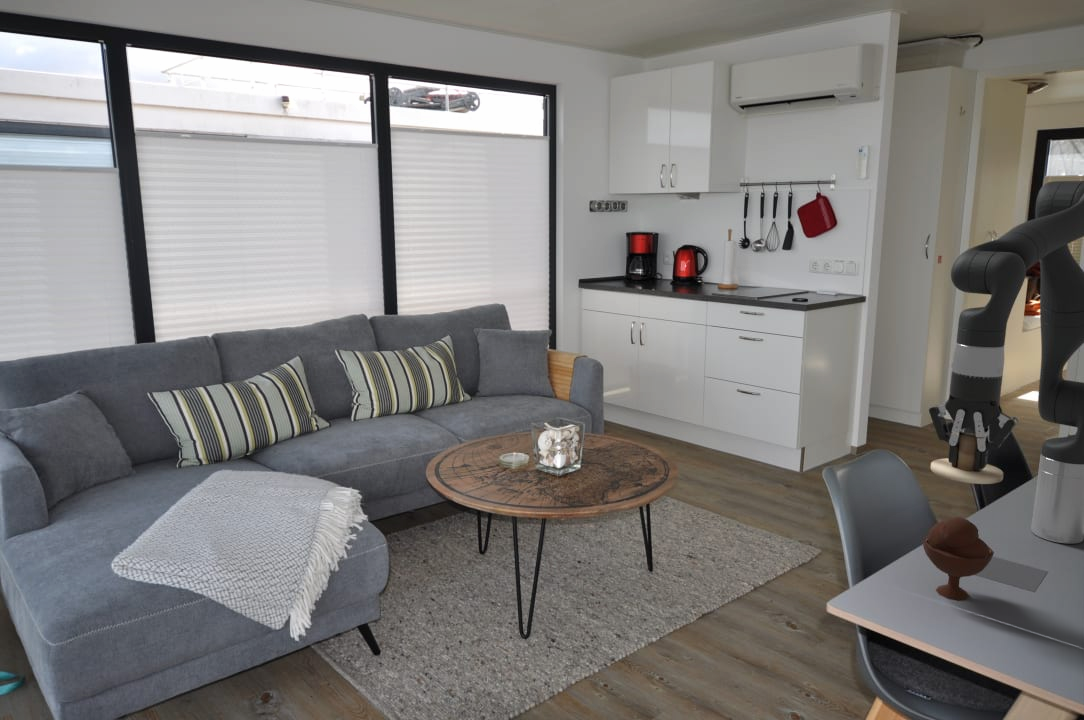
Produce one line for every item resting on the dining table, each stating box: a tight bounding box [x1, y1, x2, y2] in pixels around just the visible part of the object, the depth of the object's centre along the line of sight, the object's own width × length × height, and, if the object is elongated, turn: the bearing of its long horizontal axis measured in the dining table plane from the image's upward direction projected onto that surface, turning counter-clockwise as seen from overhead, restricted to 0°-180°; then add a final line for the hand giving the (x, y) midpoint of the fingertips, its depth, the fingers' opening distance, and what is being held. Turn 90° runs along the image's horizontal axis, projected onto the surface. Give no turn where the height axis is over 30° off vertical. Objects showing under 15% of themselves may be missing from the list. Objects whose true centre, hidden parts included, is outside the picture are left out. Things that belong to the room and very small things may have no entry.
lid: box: [930, 432, 1004, 485], centre depth 132 cm, size 11×11×7 cm
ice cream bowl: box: [922, 516, 995, 602], centre depth 135 cm, size 11×11×15 cm
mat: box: [974, 555, 1049, 593], centre depth 145 cm, size 11×11×1 cm
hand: (966, 467), depth 132 cm, fingers closed on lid, 3 cm apart
